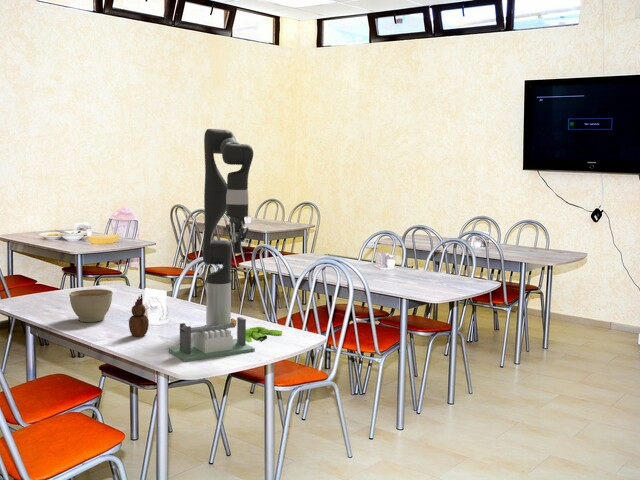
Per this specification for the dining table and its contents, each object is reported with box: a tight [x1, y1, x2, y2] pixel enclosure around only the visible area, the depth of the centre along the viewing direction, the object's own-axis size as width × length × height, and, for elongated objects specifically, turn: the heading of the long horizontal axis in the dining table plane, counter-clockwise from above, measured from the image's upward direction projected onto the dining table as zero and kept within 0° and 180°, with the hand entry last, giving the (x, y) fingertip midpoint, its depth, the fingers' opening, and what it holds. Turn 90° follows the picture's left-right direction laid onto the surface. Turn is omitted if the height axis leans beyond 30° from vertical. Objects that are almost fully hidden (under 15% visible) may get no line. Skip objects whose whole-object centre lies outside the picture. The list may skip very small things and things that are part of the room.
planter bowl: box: [68, 288, 113, 323], centre depth 276 cm, size 16×16×11 cm
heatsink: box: [168, 316, 256, 363], centre depth 237 cm, size 14×25×10 cm, turn 123°
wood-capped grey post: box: [181, 317, 237, 334], centre depth 236 cm, size 19×3×2 cm, turn 123°
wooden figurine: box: [128, 293, 150, 337], centre depth 254 cm, size 7×6×15 cm
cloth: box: [246, 326, 283, 343], centre depth 259 cm, size 20×22×2 cm
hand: (236, 252), depth 244 cm, fingers closed
